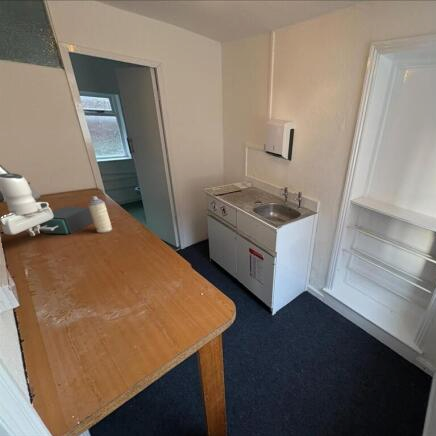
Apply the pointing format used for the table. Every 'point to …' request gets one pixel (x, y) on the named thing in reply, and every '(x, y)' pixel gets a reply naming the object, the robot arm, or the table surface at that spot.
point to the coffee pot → (34, 193)
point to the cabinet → (73, 218)
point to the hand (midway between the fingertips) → (35, 234)
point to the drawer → (54, 226)
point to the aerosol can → (100, 215)
